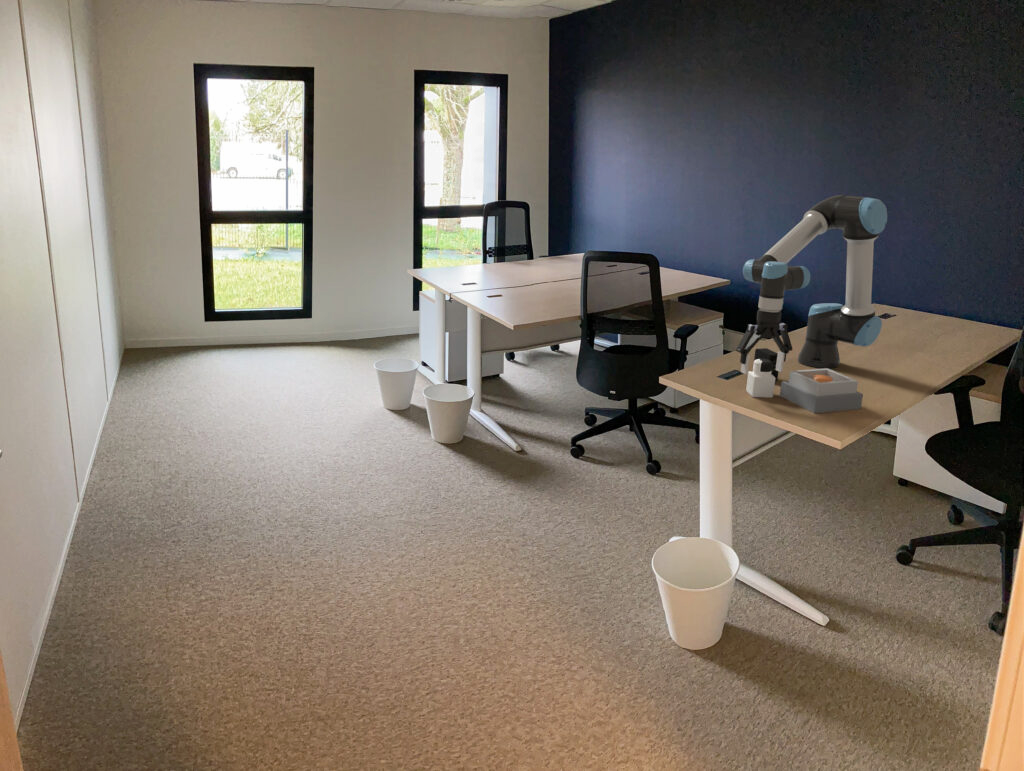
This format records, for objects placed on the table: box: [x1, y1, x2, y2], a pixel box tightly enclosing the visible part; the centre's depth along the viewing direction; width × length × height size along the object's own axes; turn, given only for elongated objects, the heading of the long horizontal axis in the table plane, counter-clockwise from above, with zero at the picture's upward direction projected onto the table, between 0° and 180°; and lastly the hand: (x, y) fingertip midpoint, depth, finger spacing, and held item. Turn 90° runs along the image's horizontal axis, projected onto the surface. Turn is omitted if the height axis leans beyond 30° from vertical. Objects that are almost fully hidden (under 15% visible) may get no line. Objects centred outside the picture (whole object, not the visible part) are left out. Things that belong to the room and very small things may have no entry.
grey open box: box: [779, 368, 864, 414], centre depth 274 cm, size 18×18×9 cm
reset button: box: [813, 375, 833, 383], centre depth 273 cm, size 6×6×5 cm
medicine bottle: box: [745, 359, 776, 399], centre depth 280 cm, size 7×7×12 cm
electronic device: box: [753, 347, 780, 382], centre depth 298 cm, size 4×10×10 cm, turn 16°
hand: (761, 372), depth 279 cm, fingers open, 13 cm apart
